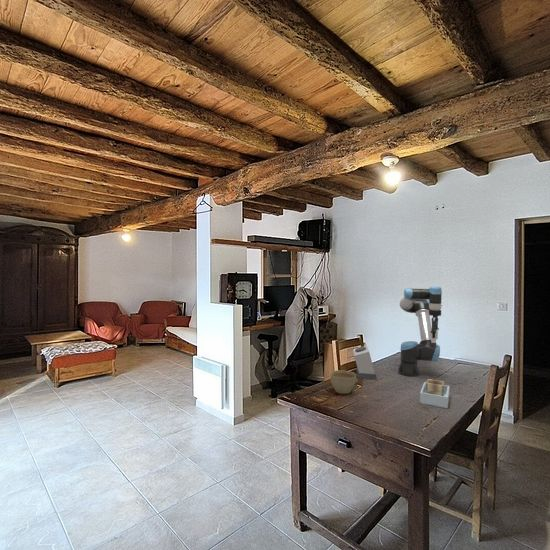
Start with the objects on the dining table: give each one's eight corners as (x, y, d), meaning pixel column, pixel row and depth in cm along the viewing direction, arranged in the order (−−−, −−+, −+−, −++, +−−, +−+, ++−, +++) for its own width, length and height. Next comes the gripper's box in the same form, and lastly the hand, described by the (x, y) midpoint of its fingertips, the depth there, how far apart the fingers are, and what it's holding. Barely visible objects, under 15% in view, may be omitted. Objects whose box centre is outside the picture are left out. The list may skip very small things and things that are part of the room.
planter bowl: (337, 385, 219) (337, 368, 219) (360, 390, 209) (360, 373, 209) (324, 391, 207) (325, 374, 207) (348, 398, 197) (348, 379, 196)
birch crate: (425, 398, 195) (426, 383, 195) (427, 393, 203) (427, 379, 202) (443, 401, 190) (443, 386, 190) (443, 396, 198) (444, 381, 198)
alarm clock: (377, 379, 231) (377, 350, 231) (353, 378, 234) (354, 349, 234) (374, 371, 251) (374, 344, 251) (352, 369, 254) (353, 343, 254)
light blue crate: (419, 403, 190) (420, 392, 190) (424, 391, 209) (424, 381, 209) (447, 408, 183) (447, 397, 183) (449, 395, 202) (449, 385, 202)
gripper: (440, 311, 212) (439, 344, 213) (442, 308, 234) (441, 338, 234) (427, 311, 216) (426, 343, 216) (430, 307, 238) (430, 337, 238)
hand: (434, 340), depth 225 cm, fingers open, 13 cm apart
